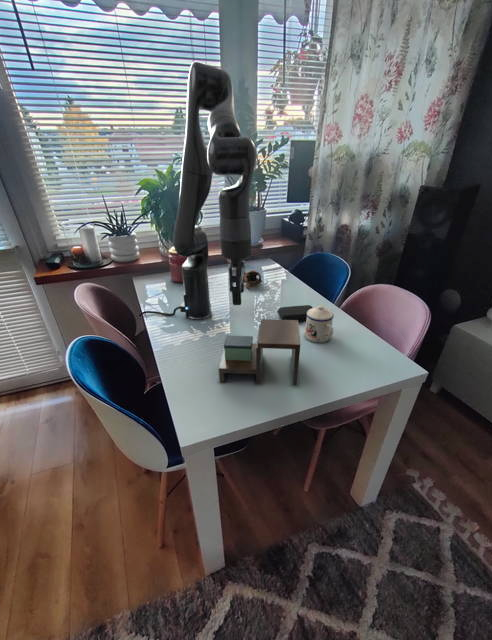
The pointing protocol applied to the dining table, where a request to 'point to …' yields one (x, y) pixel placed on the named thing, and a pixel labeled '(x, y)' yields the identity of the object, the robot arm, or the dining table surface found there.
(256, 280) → the pottery mug
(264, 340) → the shelf riser
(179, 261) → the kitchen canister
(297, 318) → the carrying case
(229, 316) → the dining table surface
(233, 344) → the box
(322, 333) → the teacup with lid
